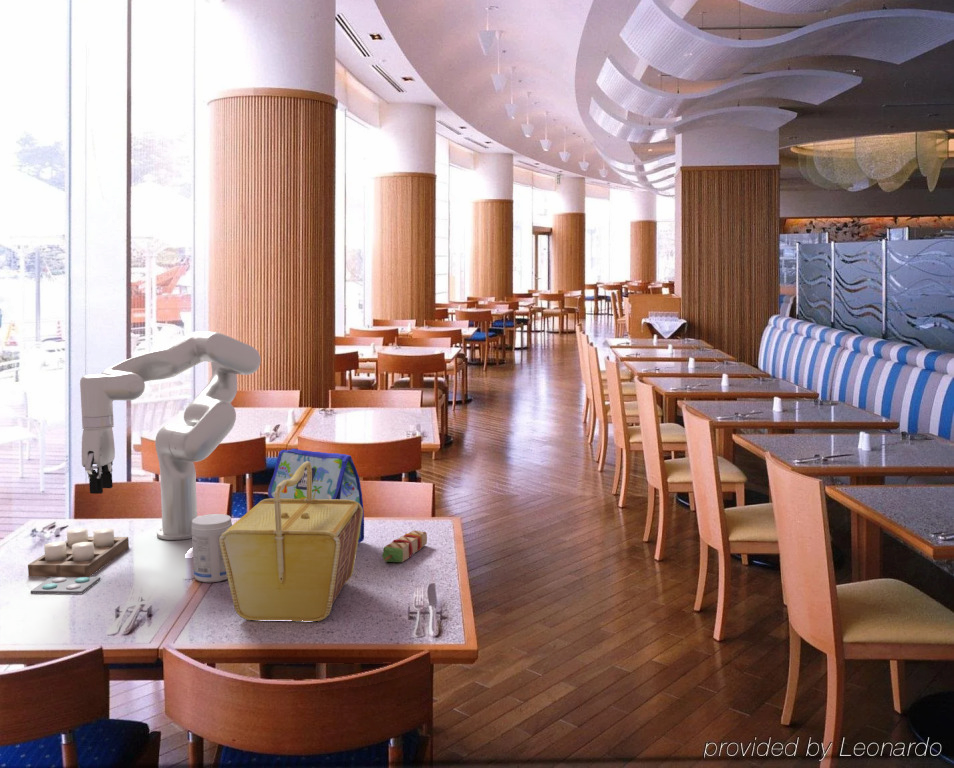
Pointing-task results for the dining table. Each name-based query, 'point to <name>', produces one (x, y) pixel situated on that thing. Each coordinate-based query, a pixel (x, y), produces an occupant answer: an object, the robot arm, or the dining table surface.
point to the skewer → (404, 546)
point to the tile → (66, 585)
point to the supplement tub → (209, 547)
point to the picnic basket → (291, 554)
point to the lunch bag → (318, 477)
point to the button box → (78, 567)
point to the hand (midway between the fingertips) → (101, 489)
